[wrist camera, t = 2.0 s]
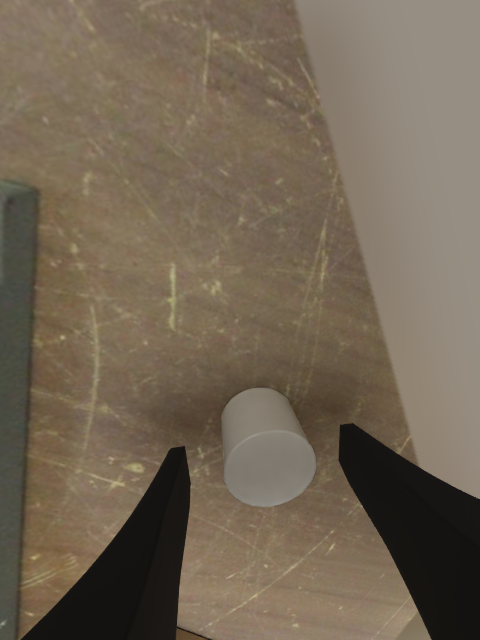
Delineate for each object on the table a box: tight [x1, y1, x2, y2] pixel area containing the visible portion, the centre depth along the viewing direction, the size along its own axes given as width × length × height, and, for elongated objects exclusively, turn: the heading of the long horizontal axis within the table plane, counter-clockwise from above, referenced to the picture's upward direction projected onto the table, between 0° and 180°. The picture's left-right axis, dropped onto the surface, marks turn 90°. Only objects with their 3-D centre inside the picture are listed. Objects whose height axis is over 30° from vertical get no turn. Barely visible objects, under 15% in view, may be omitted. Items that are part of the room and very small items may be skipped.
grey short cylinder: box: [221, 387, 316, 507], centre depth 12 cm, size 4×4×3 cm
